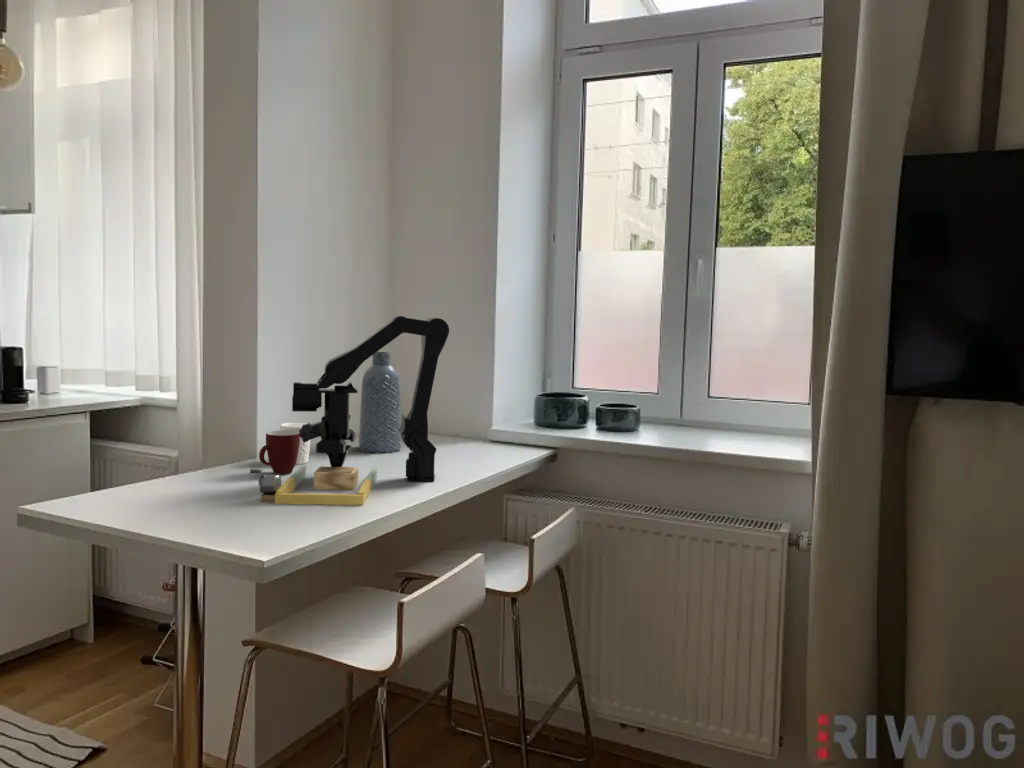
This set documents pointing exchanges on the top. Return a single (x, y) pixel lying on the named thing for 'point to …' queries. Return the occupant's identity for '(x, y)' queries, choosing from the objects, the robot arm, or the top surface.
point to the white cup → (304, 446)
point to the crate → (336, 478)
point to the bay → (287, 497)
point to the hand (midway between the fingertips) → (335, 476)
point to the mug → (281, 450)
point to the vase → (380, 407)
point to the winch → (268, 485)
